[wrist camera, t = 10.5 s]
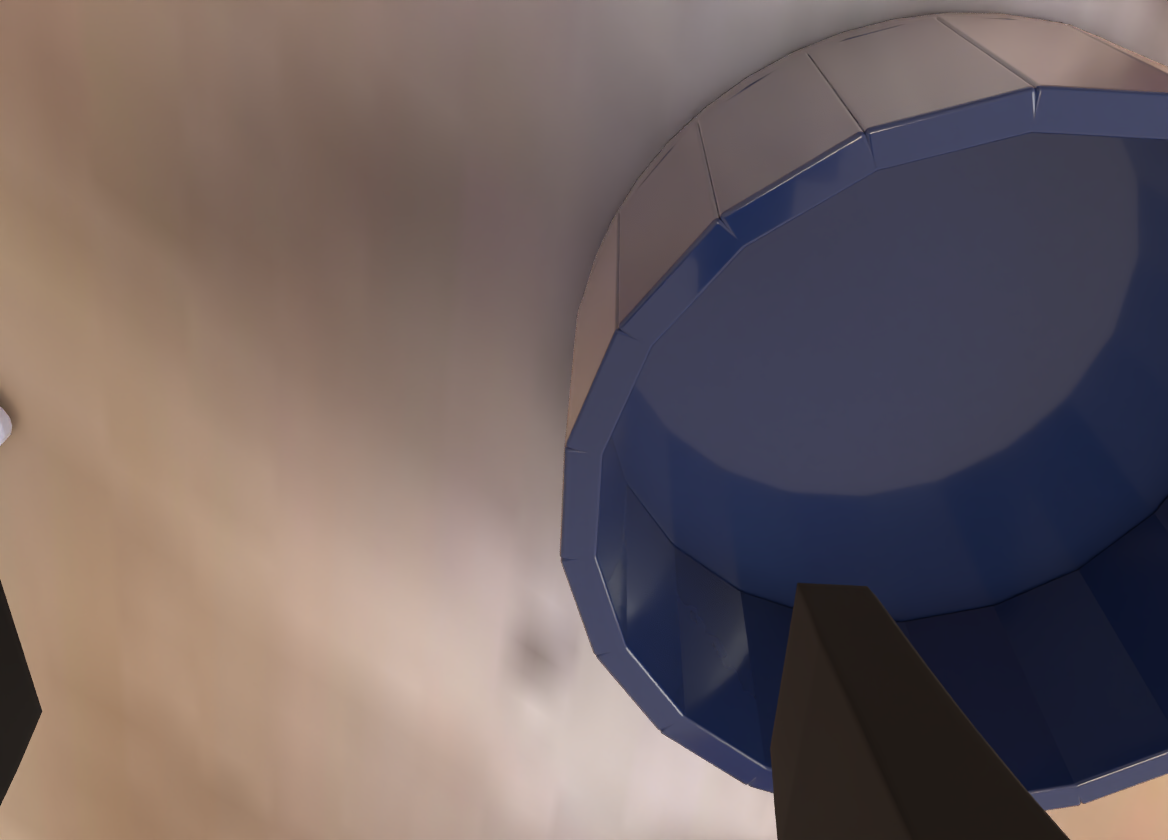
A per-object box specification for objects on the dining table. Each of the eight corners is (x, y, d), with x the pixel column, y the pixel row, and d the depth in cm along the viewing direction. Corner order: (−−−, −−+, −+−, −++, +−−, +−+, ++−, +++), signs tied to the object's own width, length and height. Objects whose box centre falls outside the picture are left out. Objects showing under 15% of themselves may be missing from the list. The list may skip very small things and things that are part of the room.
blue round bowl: (443, 268, 19) (385, 414, 14) (1122, -164, 15) (1331, -148, 11) (772, 698, 24) (806, 905, 19) (1345, 452, 20) (1551, 637, 16)
